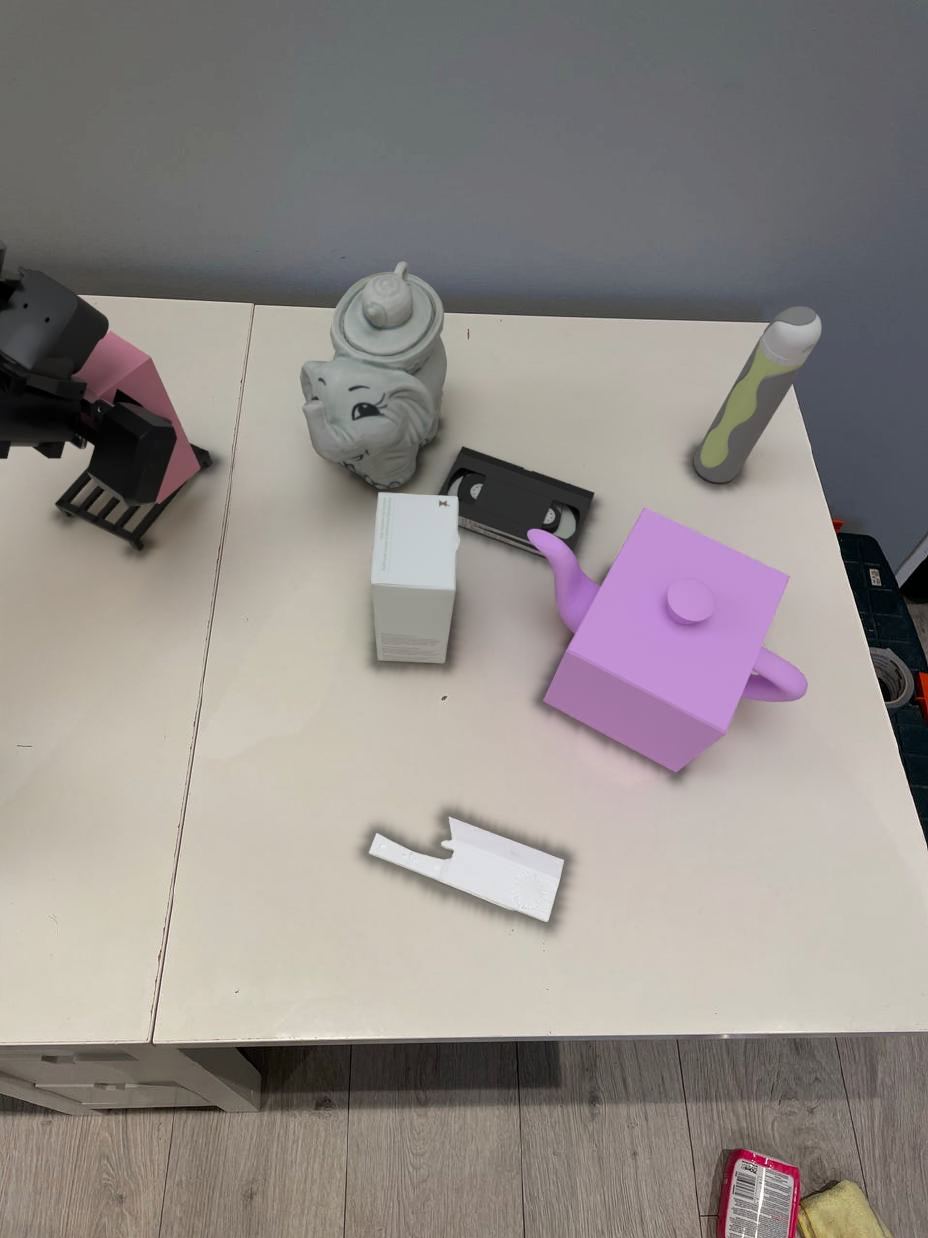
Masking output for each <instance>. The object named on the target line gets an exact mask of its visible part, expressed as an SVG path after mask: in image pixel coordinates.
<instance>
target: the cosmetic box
mask: <svg viewBox="0 0 928 1238" xmlns="http://www.w3.org/2000/svg"><path fill="white" fill-rule="evenodd" d="M458 510H459V501H458V497H457V496H441V495H438V494H416V493H401V492H399V493H398V492H384V491H383V492H382V491H381V492H380V491H379V492H378V493H377V501H376V511H375V520H374V530H373V544H372V551H371V553H372V554H371V565H370V566H371V567H370V585H371V586H370V587H371V588H370V589H371V598H372V599H371V600H372V611H373V623H374V633H375V646H376V656H377V657H376V658H377V660H378V661H383V662H402V663H403V662H406V663H425V664H426V663H428V664H441V665H443V664H445V663H446V659H447V650H448V644H449V637H450V631H451V625H452V618H453V610H454V605H455V604H454V603H455V599H456V598H455V597H456V592H457V579H458V578H457V576H458V549H459V547H460V543H461V541H460V540H461V539H460V535H459V526H458Z"/></svg>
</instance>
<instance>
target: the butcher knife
mask: <svg viewBox="0 0 928 1238" xmlns="http://www.w3.org/2000/svg"><path fill="white" fill-rule="evenodd" d="M448 824H449V829H450V836H451V839H450V840H448V839H445V840H443V841H441V843H440V846H441V847H442V848H444V849H447V850H449V851H452V852H453V853H452V855H451V857H449V858H445V859H443V858H439V857H436V856H431V855H428V854H427V855H426V854H424V853H420V852H417V851H414V850H411V849H409V848H407V847H405V846H403V845H401V844H399V843H397V842H395V841H393V840H392V839H389V838H388V837H386V836H384V835H382V834H381V833H378V832H376V834H375V836H374V838H373V840H372V843H371V846H370V848H369V850H368V855H371V856H372V857H373V856H374V857H376V858H378V859H380V860H381V859H382V860H384V861H386V862H388V863H391V864H394V865H397V866H399V867H402V868H405V869H407V870H410V871H412V872H415V873H417V874H419V875H423V876H424V877H428V878H430V879H433V880H436V881H437V882H440V883H442V884H445V885H447V886H450V887H452V888H455V889H456V890H460V891H461V892H463V893H468V894H469V895H472V896H474V897H476V898H479V899H481V900H483V901H486V902H489V903H492V904H493V905H496V906H499V907H500V908H504V909H506V910H509V911H512V912H514V911H516V912H519V913H520V914H523V915H525V916H529V917H531V918H534V919H537V920H539V921H542V922H544V923H548V922H549V919H550V916H551V913H552V910H553V906H554V904H555V899H556V895H557V891H558V888H559V885H560V881H561V877H562V872H563V867H564V863H565V859H562V858H560V857H557V856H554V855H552V854H549V853H547V852H544V851H541V850H539V849H536V848H534V847H531V846H528V845H526V844H523V843H520V842H518V841H516V840H515V841H514V840H512V839H509V838H507V837H504V836H501V835H499V834H497V833H494V832H492V831H488V830H485V829H483V828H480V827H477V826H476V825H472V824H470V823H467V822H464V821H462V820H459V819H457V818H454V817H451V816H448Z"/></svg>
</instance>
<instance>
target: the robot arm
mask: <svg viewBox="0 0 928 1238" xmlns="http://www.w3.org/2000/svg"><path fill="white" fill-rule="evenodd" d="M7 248H8V246H7V244H6V242H4V241H3V240H1V239H0V460H7V459H8V457H9V454H10V449H11V447H12V448H13V447H17V448H19V447H20V448H23V447H24V448H33V449H34V450H35V451H37V452H38V453H39V454H41V455H43V456H44V457H45V458H46V459H49V460H50V459H51V460H52V459H54V460H55V459H57V460H58V459H62V455H63V452H64V448H65V445H66V443H70V444H71V445H72V446H74V447H75V448H77V449H79V450H85V449H86V448H87V445H88V443H90V444H91V445H93V450H92V453H91V457H90V460H89V464H88V466H87V468H88V470H87V472H88V474H89V475H90V477H91V481H92V482H93V484H95V485H96V486H100V487H101V488H102V489H104V490H105V491H104V492H107V493H108V494H110V495H111V496H112V497H113V496H114V497H115V498H117V499H118V500H119V501H120V503H122V504H123V505H125V506H127V508H129V506H141V507H142V506H149V505H151V504H156V500H157V497H158V494H159V491H160V488H161V485H162V482H163V479H164V476H165V473H166V470H167V468H168V465H169V462H170V459H171V456H172V453H173V450H174V447H175V444H176V441H177V435H176V432H175V429H174V427H173V426H172V421H171V420H169V419H167V418H164V417H161V416H157V415H155V414H153V413H152V412H150V411H149V410H147V409H145V408H144V406H143V405H142V404H140V403H139V402H137V401H136V400H134V399H133V398H131V397H130V396H128V395H127V394H125V393H124V392H122V391H121V390H119V389H117V390H116V393H115V396H114V400H113V403H110V402H108V401H107V400H104V399H98V400H96V401H95V402H92V401H91V400H89V399H88V398H86V397H85V396H84V394H85V391H86V387H87V382H85V381H84V380H82V379H81V378H79V377H75V376H72V375H74V374H76V373H78V372H79V371H80V370H81V369H82V367H83V366H84V364H85V363H86V361H87V359H88V358H89V356H90V355H91V353H92V351H93V350H94V348H95V347H96V345H97V343H98V342H99V340H101V339H103V338H104V337H105V335H106V334H107V333H108V332H109V328H110V322H109V319H108V317H107V316H106V315H105V314H103V313H102V312H101V311H99V310H98V309H97V308H96V307H94V306H92V305H91V304H90V303H89V302H88V301H86V300H85V299H83V298H82V297H81V296H79V295H78V294H76V293H75V292H73V290H71V289H70V288H68V287H66V286H65V285H63V284H62V283H60V282H58V281H57V280H55V279H54V278H52V277H51V276H49V275H47V274H46V273H45V272H42V271H41V270H38V269H33V268H25V267H23V266H22V265H19V267H18V268H17V270H16V271H17V273H16V272H15V271H13V270H11V269H7V268H3V267H4V263H5V257H6V254H7Z"/></svg>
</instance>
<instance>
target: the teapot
mask: <svg viewBox="0 0 928 1238" xmlns="http://www.w3.org/2000/svg"><path fill="white" fill-rule="evenodd" d="M527 536H528V538H529V540H530V542H531V543H532V544H533V545H534V546H535V547H536V548H537V549H538V550H539V551H540V552H541V553H542V554H543V555H544V556H545V557H546V558H545V557H544V558H545V559H546V560H547V561H548V563H549V565H550V568H551V570H552V575H553V581H554V596H555V597H554V598H555V604H556V608H557V613H558V614H559V616H560V618H561V620H562V621H563V623H564V624H565V625H566V626H567V628H568V629H569V630H570V631H571V632H572V633H573V634H574V635H573V637H572V639H571V640H570V643H569V644H568V646H567V648H566V650H565V652H564V654H563V656H562V658H561V661H560V662H559V665H558V667H557V670H556V672H555V674H554V675H553V678H552V680H551V682H550V685H549V688H548V689H547V691H546V693H545V696H544V697H543V700H542V702H543V703H545V704H547V705H549V706H550V707H552V708H554V709H555V710H558V711H560V712H562V713H564V714H566V715H567V716H569V717H571V718H573V719H574V720H577V721H578V722H581V723H582V724H583V725H586V726H588V727H590V728H591V729H593V730H595V731H597V732H599V733H601V734H603V735H604V736H607V737H608V738H609V739H612V740H614V741H616V742H618V743H620V744H622V745H624V746H625V747H627V748H629V749H631V750H633V751H634V752H637V753H638V754H640V755H642V756H644V757H646V758H647V759H649V760H651V761H653V762H655V763H656V764H658V765H660V766H662V767H664V768H666V769H668V770H670V771H671V772H673V773H675V774H676V773H678V772H679V771H680V770H682V769H683V768H684V767H685V766H687V765H688V764H690V762H692V761H693V760H694V759H695V758H697V757H698V756H700V755H701V754H702V753H703V752H705V751H706V750H707V749H709V748H710V747H711V746H713V745H714V744H715V743H716V742H718V741H719V740H720V739H722V738H723V737H724V736H725V735H726V734H727V732H728V730H729V727H730V725H731V722H732V720H733V717H734V715H735V712H736V710H737V708H738V705H739V703H740V701H741V699H746V700H751V701H752V700H753V701H760V702H765V703H766V702H768V703H786V702H787V703H788V702H789V703H790V702H794V701H798V700H800V699H802V698H803V697H804V696H805V695H806V694H807V692H808V687H809V682H808V680H807V678H806V676H805V674H804V673H803V672H802V671H801V670H800V669H799V668H798V667H796V666H795V665H794V664H793V663H792V662H790V661H788V660H787V659H785V658H783V657H782V656H780V655H779V654H777V653H775V652H773V651H772V650H770V649H768V648H766V647H764V646H763V645H764V642H765V639H766V636H767V634H768V632H769V629H770V627H771V624H772V622H773V619H774V618H775V614H776V612H777V610H778V607H779V605H780V603H781V600H782V597H783V595H784V593H785V590H786V588H787V586H788V583H789V580H790V578H791V576H790V575H789V574H787V573H784V572H782V571H780V570H778V569H776V568H774V567H771V566H769V565H768V564H766V563H763V562H761V561H759V560H757V559H755V558H753V557H751V556H749V555H748V554H745V553H743V552H741V551H739V550H737V549H735V548H732V547H731V546H728V545H726V544H724V543H722V542H720V541H718V540H716V539H714V538H711V537H709V536H707V535H706V534H703V533H700V532H698V531H696V530H695V529H693V528H690V527H689V526H687V525H684V524H681V523H679V522H677V521H675V520H673V519H671V518H668V517H667V516H664V515H662V514H660V513H658V512H656V511H654V510H652V509H650V508H648V507H646V506H643V508H642V510H641V511H640V513H639V515H638V516H637V519H636V521H635V523H634V525H633V526H632V528H631V530H630V532H629V533H628V535H627V537H626V539H625V541H624V543H623V545H622V546H621V549H620V550H619V552H618V554H617V556H616V557H615V559H614V561H613V563H612V565H611V567H610V569H609V571H608V572H607V574H606V576H605V578H604V580H603V581H602V583H601V585H599V584H598V583H596V582H595V580H592V579H591V578H590V577H589V576H588V575H587V574H586V573H585V572H584V570H583V569H582V567H581V566H580V563H579V560H578V558H577V557H576V555H575V553H574V552H573V551H571V550H570V548H569V547H568V546H567V545H566V544H565V543H564V542H563V541H562V540H560V539H559V538H558V537H556V536H554V535H552V534H550V533H548V532H546V531H543V530H539V529H531V530H529V531H528V533H527ZM752 672H754V673H755V674H754V673H752Z"/></svg>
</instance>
